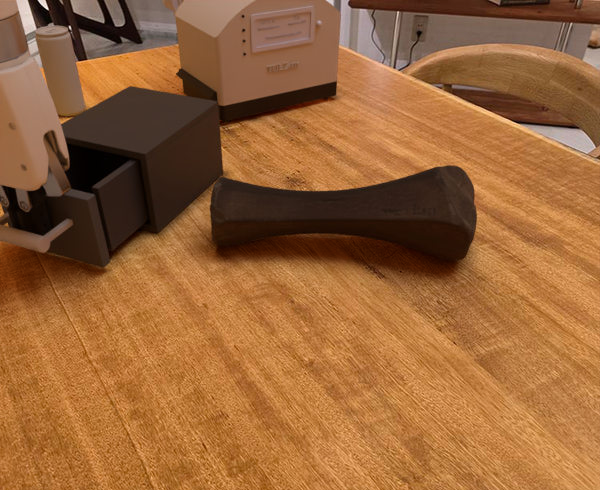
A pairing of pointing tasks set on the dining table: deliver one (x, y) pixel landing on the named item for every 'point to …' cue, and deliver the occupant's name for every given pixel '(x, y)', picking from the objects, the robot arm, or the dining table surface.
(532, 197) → the dining table surface
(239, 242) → the dark brown bone
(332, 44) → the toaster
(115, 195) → the dark grey drawer
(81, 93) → the beverage can
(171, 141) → the dark brown drawer cabinet
